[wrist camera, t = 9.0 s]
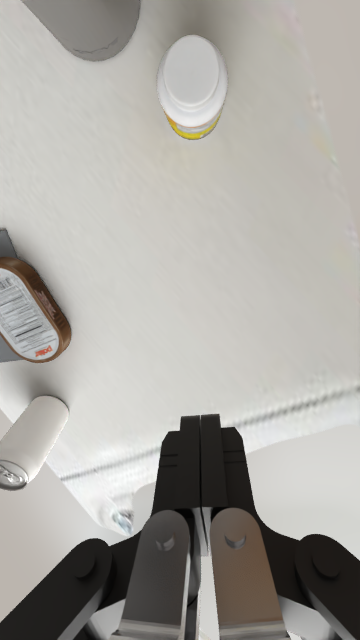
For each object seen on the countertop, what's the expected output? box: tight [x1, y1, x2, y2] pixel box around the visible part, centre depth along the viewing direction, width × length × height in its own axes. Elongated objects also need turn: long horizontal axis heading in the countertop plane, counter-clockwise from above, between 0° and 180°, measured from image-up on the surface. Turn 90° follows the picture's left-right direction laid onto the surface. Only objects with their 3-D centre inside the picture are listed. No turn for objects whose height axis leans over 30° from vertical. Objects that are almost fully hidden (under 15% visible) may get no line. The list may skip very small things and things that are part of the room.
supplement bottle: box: [157, 35, 228, 140], centre depth 24 cm, size 6×6×10 cm
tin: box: [0, 257, 71, 363], centre depth 38 cm, size 15×3×8 cm
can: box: [0, 396, 69, 491], centre depth 41 cm, size 6×6×12 cm
